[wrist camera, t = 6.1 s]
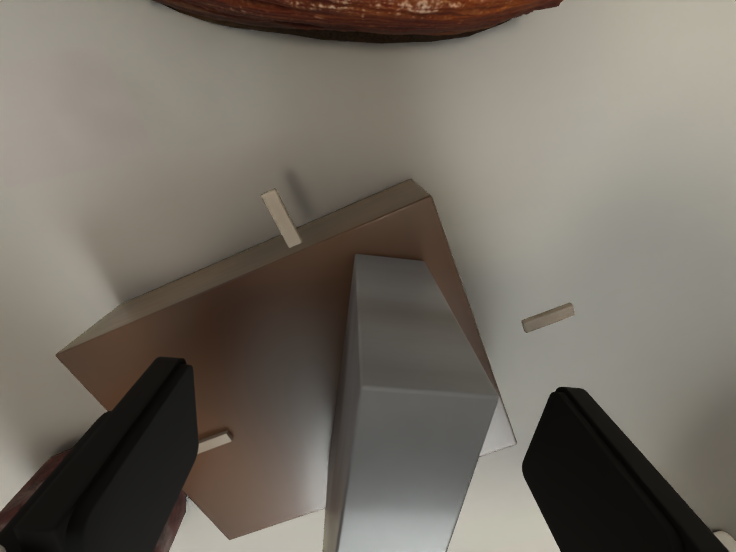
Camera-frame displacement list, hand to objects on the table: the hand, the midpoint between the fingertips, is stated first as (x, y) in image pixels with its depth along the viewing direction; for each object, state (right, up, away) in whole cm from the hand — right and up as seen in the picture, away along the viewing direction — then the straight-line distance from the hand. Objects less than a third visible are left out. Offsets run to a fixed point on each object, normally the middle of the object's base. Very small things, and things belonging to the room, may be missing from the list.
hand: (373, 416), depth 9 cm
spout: (0, +1, +1) cm, 1 cm away
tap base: (-1, +1, +4) cm, 4 cm away
